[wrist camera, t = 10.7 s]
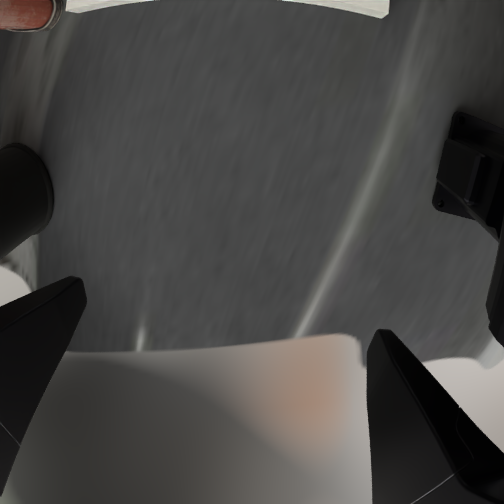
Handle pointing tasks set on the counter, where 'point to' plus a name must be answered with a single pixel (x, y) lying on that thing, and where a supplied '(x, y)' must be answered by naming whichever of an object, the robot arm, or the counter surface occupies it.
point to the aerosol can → (22, 196)
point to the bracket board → (369, 3)
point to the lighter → (29, 14)
